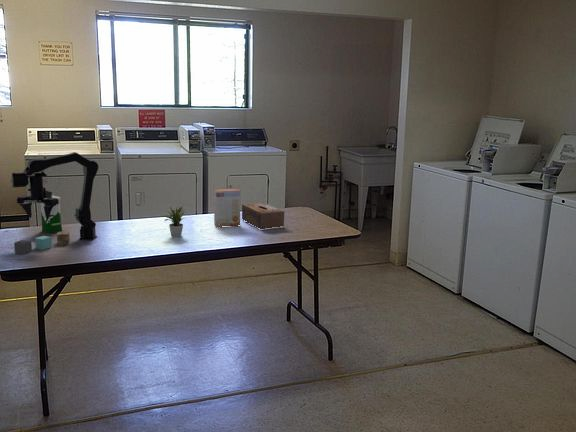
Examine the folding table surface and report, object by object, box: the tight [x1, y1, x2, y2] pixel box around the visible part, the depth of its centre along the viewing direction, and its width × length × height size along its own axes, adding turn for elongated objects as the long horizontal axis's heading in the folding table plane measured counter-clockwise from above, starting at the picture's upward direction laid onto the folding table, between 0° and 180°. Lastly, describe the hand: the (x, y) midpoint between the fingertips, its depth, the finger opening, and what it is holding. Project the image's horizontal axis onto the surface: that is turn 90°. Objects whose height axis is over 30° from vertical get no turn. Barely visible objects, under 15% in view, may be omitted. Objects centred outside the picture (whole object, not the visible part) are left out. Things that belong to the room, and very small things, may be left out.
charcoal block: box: [13, 239, 33, 255], centre depth 249 cm, size 5×5×5 cm
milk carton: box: [39, 195, 63, 234], centre depth 285 cm, size 9×9×20 cm
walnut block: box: [56, 231, 71, 245], centre depth 266 cm, size 5×5×5 cm
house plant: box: [160, 205, 186, 238], centre depth 284 cm, size 14×14×16 cm
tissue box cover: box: [241, 202, 285, 229], centre depth 316 cm, size 26×14×10 cm, turn 29°
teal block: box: [34, 235, 53, 251], centre depth 257 cm, size 5×5×5 cm
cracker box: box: [213, 188, 241, 228], centre depth 308 cm, size 14×6×21 cm, turn 111°
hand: (39, 218), depth 260 cm, fingers open, 9 cm apart
